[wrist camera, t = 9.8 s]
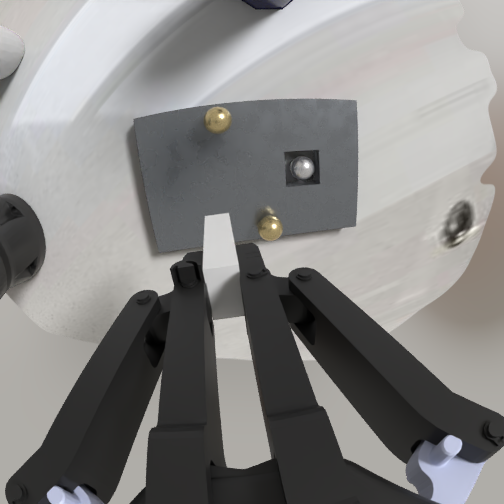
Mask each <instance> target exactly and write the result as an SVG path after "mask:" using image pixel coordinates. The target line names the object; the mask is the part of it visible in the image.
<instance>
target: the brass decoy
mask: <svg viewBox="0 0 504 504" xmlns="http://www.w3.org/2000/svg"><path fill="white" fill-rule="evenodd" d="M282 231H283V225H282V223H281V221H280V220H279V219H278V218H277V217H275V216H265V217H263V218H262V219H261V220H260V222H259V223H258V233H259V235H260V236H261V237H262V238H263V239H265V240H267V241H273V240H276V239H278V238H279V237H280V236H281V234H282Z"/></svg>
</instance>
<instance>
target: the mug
mask: <svg viewBox="0 0 504 504" xmlns="http://www.w3.org/2000/svg"><path fill="white" fill-rule="evenodd" d="M24 51H25V46H24V42H23V40H22V38H21V37H20V36H19V35H18V34H17V33H16V32H14V31H12V30H11V29H9V28H7V27H4V26H2V25H0V80H1V79H3V78H6V77H7V76H9V75H10V74H12V73H13V72H14V71H15V70H16V68H17V67H18V65H19V64H20V62H21V60H22V57H23V54H24Z"/></svg>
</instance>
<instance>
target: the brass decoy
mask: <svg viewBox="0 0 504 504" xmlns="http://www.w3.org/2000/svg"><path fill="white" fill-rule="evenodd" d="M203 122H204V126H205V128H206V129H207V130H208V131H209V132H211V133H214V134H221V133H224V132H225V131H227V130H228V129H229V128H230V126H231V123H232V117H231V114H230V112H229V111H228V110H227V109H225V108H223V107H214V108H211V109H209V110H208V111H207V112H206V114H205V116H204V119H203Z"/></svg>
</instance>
